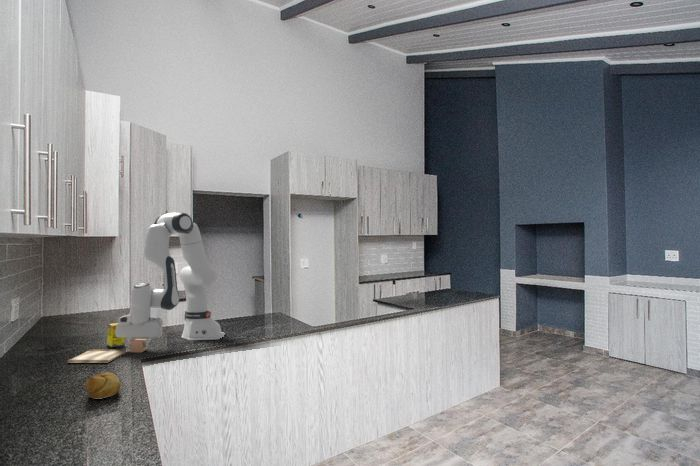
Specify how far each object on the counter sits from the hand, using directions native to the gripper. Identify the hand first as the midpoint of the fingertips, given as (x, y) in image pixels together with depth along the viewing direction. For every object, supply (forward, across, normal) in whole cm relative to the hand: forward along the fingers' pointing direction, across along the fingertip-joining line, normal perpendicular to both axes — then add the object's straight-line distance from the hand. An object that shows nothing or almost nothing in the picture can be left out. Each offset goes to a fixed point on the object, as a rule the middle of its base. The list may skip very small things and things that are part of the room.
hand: (138, 346), depth 185 cm
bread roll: (+2, -11, +54) cm, 55 cm away
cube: (+2, 0, 0) cm, 2 cm away
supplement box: (+2, +14, -8) cm, 16 cm away
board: (+2, +12, +12) cm, 17 cm away
